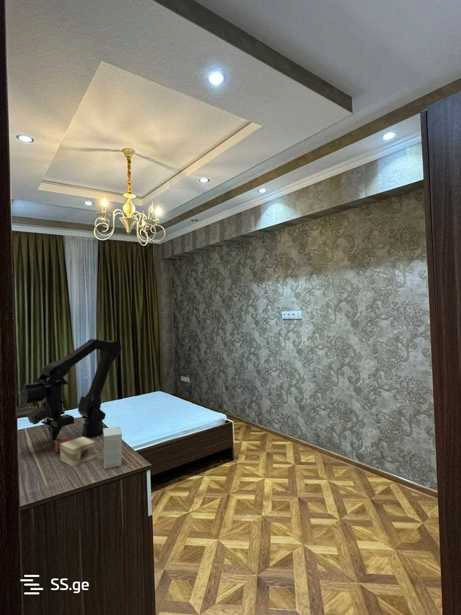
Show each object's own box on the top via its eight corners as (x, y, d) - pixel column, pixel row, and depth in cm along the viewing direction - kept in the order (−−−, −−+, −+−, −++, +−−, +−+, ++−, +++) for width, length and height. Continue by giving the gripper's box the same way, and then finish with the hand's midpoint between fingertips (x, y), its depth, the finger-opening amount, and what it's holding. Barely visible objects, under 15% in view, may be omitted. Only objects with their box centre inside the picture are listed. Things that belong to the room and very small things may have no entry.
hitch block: (82, 451, 115) (82, 436, 115) (95, 457, 110) (95, 441, 110) (60, 460, 108) (60, 443, 108) (72, 466, 104) (72, 449, 104)
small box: (102, 459, 109) (102, 428, 109) (120, 456, 111) (120, 425, 111) (103, 469, 102) (103, 436, 102) (121, 466, 104) (121, 433, 104)
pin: (66, 447, 118) (66, 436, 118) (85, 456, 110) (85, 444, 110) (55, 451, 114) (55, 440, 114) (73, 460, 107) (73, 448, 107)
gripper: (18, 399, 118) (18, 441, 118) (42, 407, 108) (42, 454, 107) (50, 393, 127) (50, 432, 127) (75, 400, 117) (75, 443, 116)
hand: (53, 440), depth 119 cm, fingers closed
